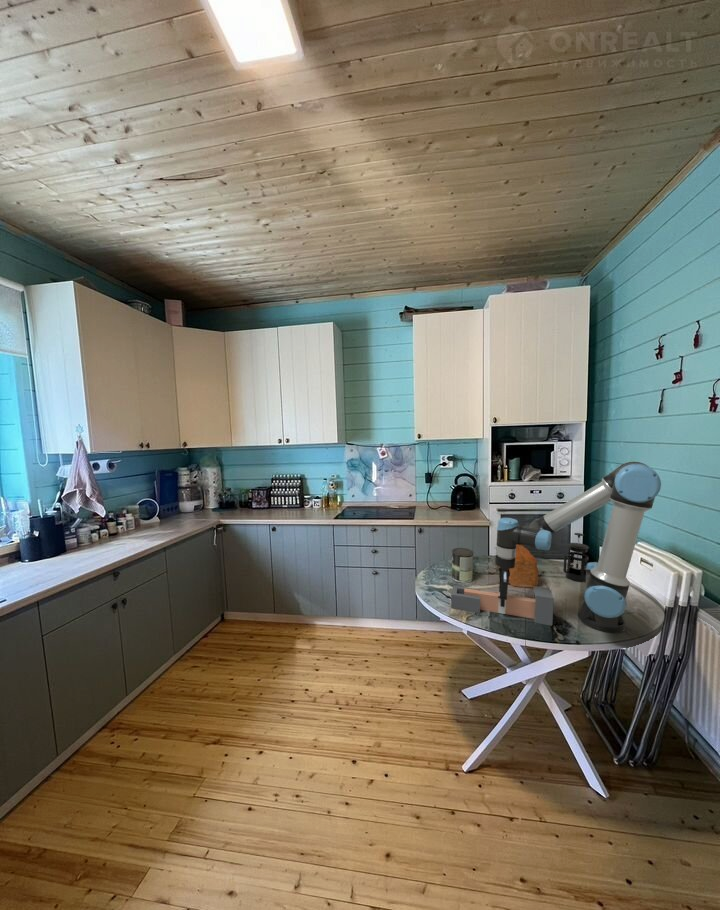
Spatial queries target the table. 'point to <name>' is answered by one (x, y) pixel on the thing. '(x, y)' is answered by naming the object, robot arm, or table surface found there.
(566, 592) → the table surface
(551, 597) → the cap
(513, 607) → the slat
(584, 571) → the french press
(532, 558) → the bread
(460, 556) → the coffee can
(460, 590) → the far end cap
